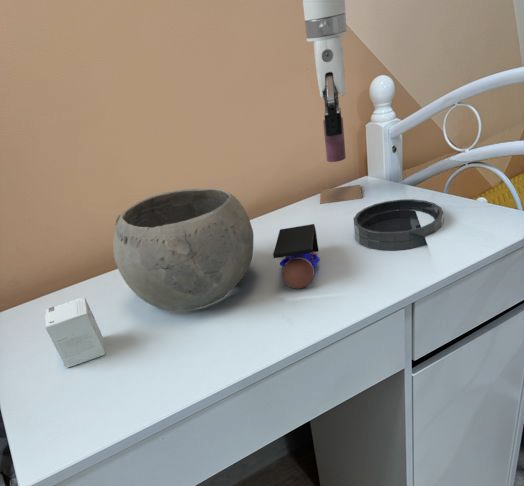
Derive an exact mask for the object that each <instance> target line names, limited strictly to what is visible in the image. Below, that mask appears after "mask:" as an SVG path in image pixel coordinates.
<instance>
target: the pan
mask: <svg viewBox="0 0 524 486" xmlns="http://www.w3.org/2000/svg"><path fill="white" fill-rule="evenodd" d="M417 212H421V213H422V214H423V213H424V214H427V215H429V216H430V217H431V218H433V221H432V222H430V223H428V224H426V225H422V226H421V223H420V220H419V216H418V214H417ZM444 215H445V214H444V209H443V208H442V207H441V206H440V205H438V204H437V203H434V202H432V201H428V200H425V199H423V200H422V199H413V198H411V199H410V198H406V199H405V198H403V199H393V200H387V201H382V202H378V203H374V204H372V205H369V206H367V207H364V208H363V209H361V210H360V211H358V212H357V213H356V214H355V216H354V217H353V230H354V240H355V241H356V242H357V243H358V244H359V245H360V246H363V247H365V248H369V249H372V250H377V251H378V250H379V251H402V250H411V249H415V248H419V247H422V246H426V245H427V244H428V242H427V240H426V237H428V236H430V235H432V234H434V233H436V232H437V231H438V230H440V229H441V228H442V227H443V224H444Z"/></svg>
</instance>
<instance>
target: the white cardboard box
mask: <svg viewBox="0 0 524 486" xmlns="http://www.w3.org/2000/svg"><path fill="white" fill-rule="evenodd" d="M44 329H45V331H46V332H47V335H48V336H49V338H50V340H51V343H52V344H53V347H54V348H55V350H56V352H57V354H58V356H59V358H60V359H61V362H62V363H63V366H64V367H65V368H66V369H68V368H71V367H74V366H78V365H79V364H83V363H85V362H88V361H91V360H94V359H97V358H100V357H102V356H105V354H106V352H105V347H104V340H103V339H104V337H103V334H102V331H101V329H100V327H99V325H98V323H97V320H96V318H95V316H94V314H93V312H92V310H91V307H90V305H89V303H88V301H87V298H86V297H85V296H82V297H79V298H76V299H73V300H70V301H67V302H64V303H61V304H58V305H55V306H52V307H49V308H46V309H45V316H44Z"/></svg>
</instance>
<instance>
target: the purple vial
mask: <svg viewBox="0 0 524 486" xmlns="http://www.w3.org/2000/svg"><path fill="white" fill-rule="evenodd" d="M340 109H341V107H339V113H340ZM324 115H326V114H325V110H324ZM322 124H323V133H324V145H325V155H326V157H325V158H326V161H327V162H328V163H338V162H341V161H344V160H345V159H346V141H345V130H344V118H343V116H341V125H342V134H340V135H333V136H327V135H326V127H325V119H323V121H322Z"/></svg>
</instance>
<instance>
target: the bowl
mask: <svg viewBox="0 0 524 486" xmlns="http://www.w3.org/2000/svg"><path fill="white" fill-rule="evenodd" d="M114 231H115V232H114V234H113V241H112V242H113V243H112V246H113V247H112V248H113V249H112V250H113V257H114V262H115V265H116V267H117V269H118V272H119V274H120V276H121V277H122V279H123V280H124V282H125V284H126V285H127V286H128V288H129V289H130V290H131V291H132V292H133V293H134V294H135V295H136V296H137V297H138V298H140V299H141V300H142V301H143V302H145V303H147V304H148V305H151V306H153V307H155V308H158V309H160V310H166V311H187V310H194V309H199V308H203V307H206V306H208V305H210V304H213V303H215V302H217V301H219V300H221V299H222V298H224V297H225V296H226V295H228V294H229V293H230V292H231V291H233V289H234V288H235V287H236V286H237V285H238V284H239V282H240V281H241V280H242V279H243V277H244V276H245V275H246V273H247V271H248V269H249V268H250V265H251V262H252V259H253V254H254V235H255V234H254V229H253V227H252V223H251V220H250V217H249V215H248V213H247V211H246V210H245V207H244V206H243V204H242V203H241V202H240V200H239V199H238V198H237V197H236V196H235V195H233V194H232V193H230V192H228V191H227V190H224V189H222V188H214V187H199V188H185V189H178V190H170V191H166V192H161V193H157V194H154V195H151V196H149V197H147V198H144V199H142V200H140V201H138V202H136V203H134V204H132V205H130V206H129V207H128V208H126V209H124V210H123V211H122V213H121V214H118V216H117V218H116V220H115V230H114Z"/></svg>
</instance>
